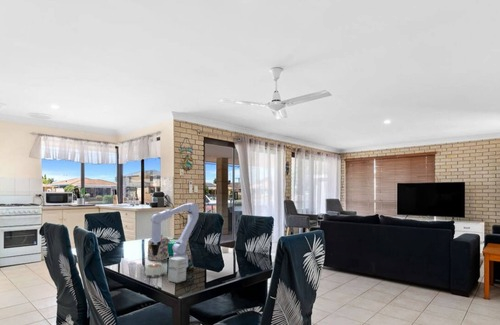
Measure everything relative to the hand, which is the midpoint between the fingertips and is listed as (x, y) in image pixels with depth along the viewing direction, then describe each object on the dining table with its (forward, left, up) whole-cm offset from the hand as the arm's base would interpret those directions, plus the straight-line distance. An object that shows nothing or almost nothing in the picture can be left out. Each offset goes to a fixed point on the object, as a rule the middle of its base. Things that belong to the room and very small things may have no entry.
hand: (155, 254), depth 201 cm
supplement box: (-24, +15, -11) cm, 30 cm away
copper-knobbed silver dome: (-4, +7, -9) cm, 12 cm away
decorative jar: (+17, -31, -11) cm, 37 cm away
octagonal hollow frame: (-4, +7, -10) cm, 13 cm away
